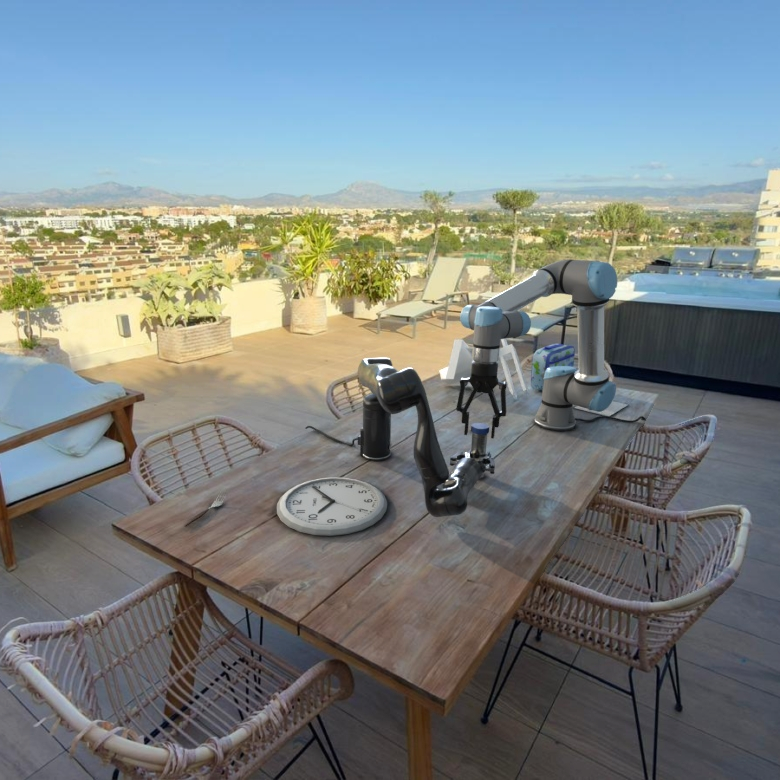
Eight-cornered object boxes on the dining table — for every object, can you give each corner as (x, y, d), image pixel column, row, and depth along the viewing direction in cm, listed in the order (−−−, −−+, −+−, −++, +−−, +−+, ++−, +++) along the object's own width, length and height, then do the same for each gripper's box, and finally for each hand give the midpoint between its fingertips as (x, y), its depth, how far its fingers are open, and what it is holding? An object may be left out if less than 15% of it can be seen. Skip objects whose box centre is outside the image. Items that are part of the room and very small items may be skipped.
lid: (486, 435, 154) (487, 430, 153) (469, 433, 156) (469, 427, 155) (490, 429, 158) (491, 424, 158) (473, 427, 160) (473, 421, 160)
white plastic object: (461, 429, 252) (437, 405, 227) (444, 352, 274) (420, 323, 250) (535, 404, 240) (518, 377, 215) (510, 326, 262) (492, 293, 237)
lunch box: (547, 395, 239) (552, 351, 233) (526, 390, 247) (530, 347, 240) (574, 384, 257) (579, 343, 251) (554, 380, 264) (558, 339, 258)
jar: (482, 480, 159) (486, 430, 154) (467, 477, 160) (471, 428, 155) (485, 474, 163) (489, 425, 158) (471, 471, 164) (474, 423, 159)
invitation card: (608, 416, 214) (573, 407, 224) (608, 416, 214) (573, 408, 224) (628, 404, 229) (594, 396, 238) (628, 405, 229) (594, 397, 238)
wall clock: (392, 527, 129) (268, 531, 127) (391, 533, 130) (269, 537, 127) (383, 473, 158) (282, 475, 155) (383, 478, 158) (282, 480, 156)
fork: (180, 527, 131) (179, 520, 130) (221, 497, 145) (220, 491, 145) (189, 529, 130) (188, 522, 130) (228, 499, 144) (228, 493, 144)
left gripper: (490, 468, 143) (504, 445, 158) (441, 458, 149) (458, 437, 164) (488, 492, 145) (502, 468, 160) (439, 482, 151) (457, 459, 166)
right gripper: (521, 361, 151) (514, 434, 158) (452, 355, 157) (448, 426, 163) (520, 367, 145) (512, 444, 151) (448, 361, 150) (444, 435, 156)
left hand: (480, 453), depth 162 cm, fingers closed on jar, 4 cm apart
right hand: (479, 435), depth 157 cm, fingers open, 7 cm apart
